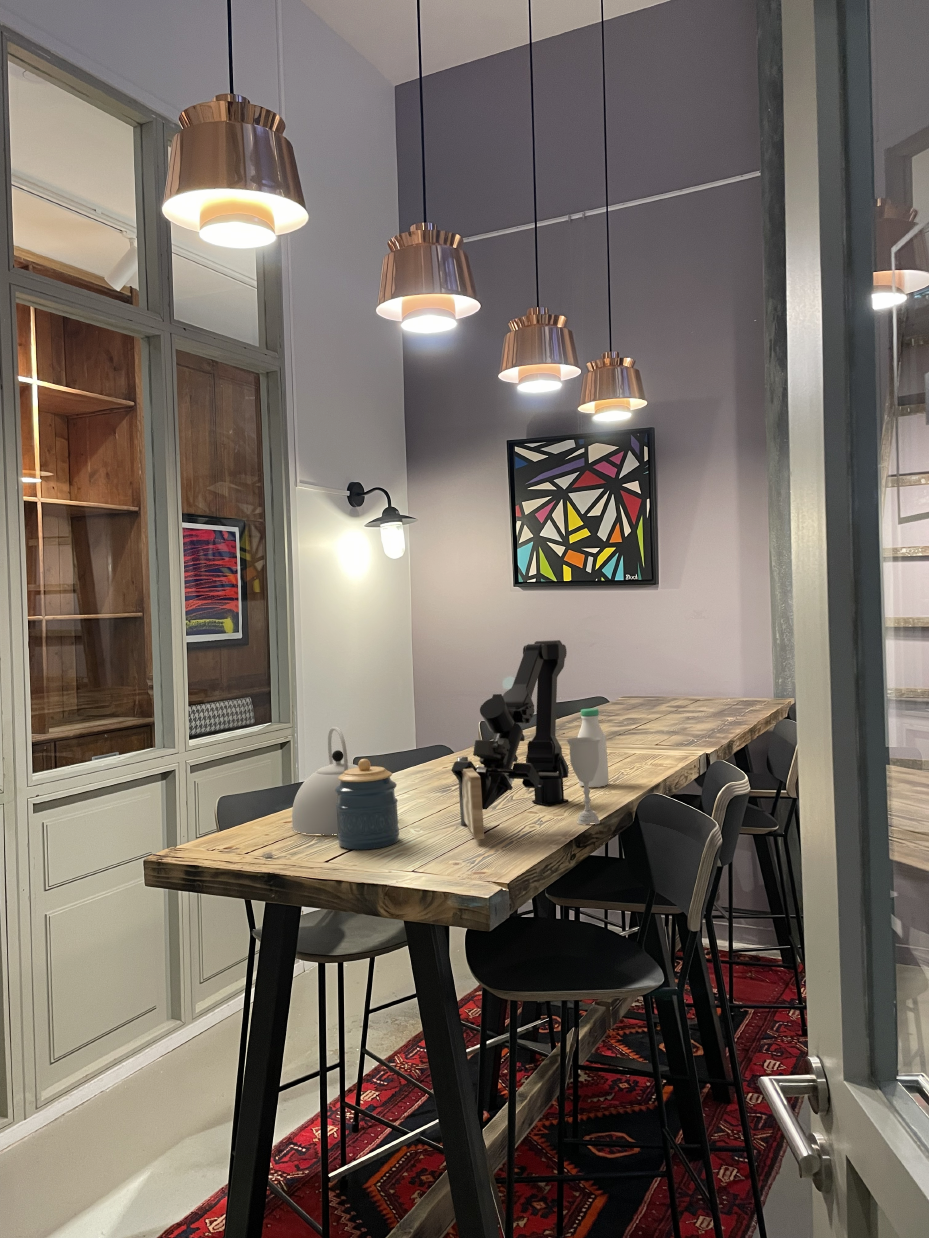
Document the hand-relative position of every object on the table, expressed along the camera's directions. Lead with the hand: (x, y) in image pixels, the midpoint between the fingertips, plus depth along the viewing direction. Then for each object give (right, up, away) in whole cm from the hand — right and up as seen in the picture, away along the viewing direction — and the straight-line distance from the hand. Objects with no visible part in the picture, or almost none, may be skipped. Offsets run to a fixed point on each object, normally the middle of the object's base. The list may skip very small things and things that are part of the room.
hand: (483, 808), depth 189 cm
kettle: (-33, -8, +23) cm, 41 cm away
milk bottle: (+30, -4, +49) cm, 58 cm away
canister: (-24, -8, +2) cm, 25 cm away
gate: (-2, -5, +3) cm, 6 cm away
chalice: (+23, -5, +9) cm, 25 cm away
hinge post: (-4, -6, +13) cm, 15 cm away
